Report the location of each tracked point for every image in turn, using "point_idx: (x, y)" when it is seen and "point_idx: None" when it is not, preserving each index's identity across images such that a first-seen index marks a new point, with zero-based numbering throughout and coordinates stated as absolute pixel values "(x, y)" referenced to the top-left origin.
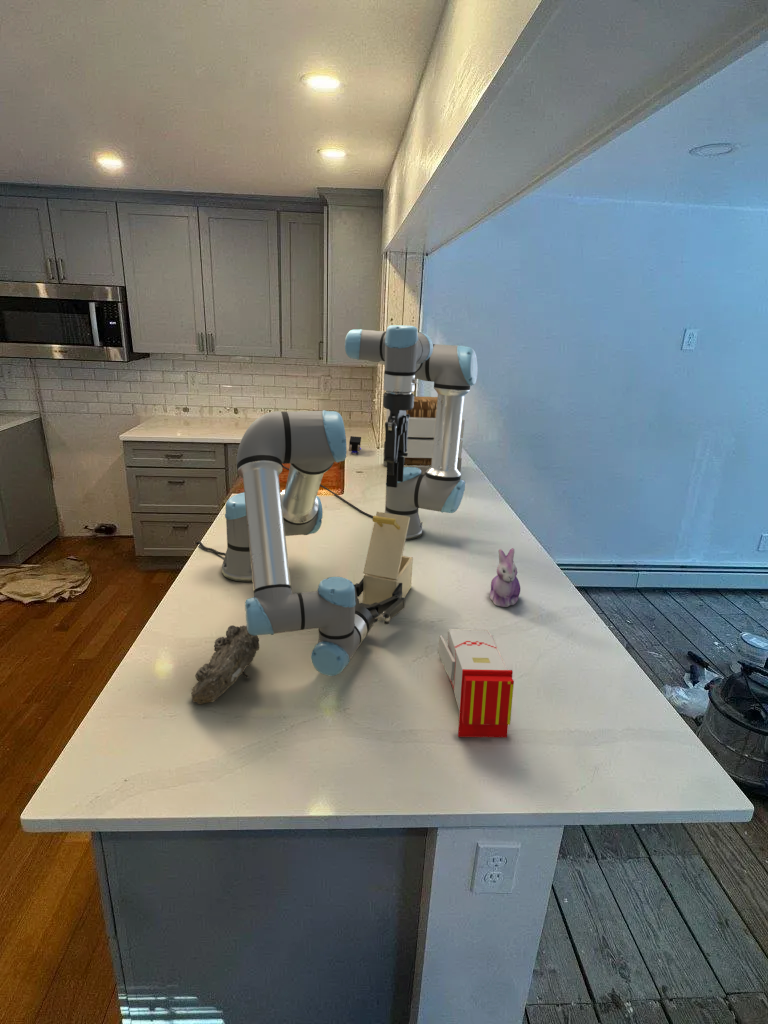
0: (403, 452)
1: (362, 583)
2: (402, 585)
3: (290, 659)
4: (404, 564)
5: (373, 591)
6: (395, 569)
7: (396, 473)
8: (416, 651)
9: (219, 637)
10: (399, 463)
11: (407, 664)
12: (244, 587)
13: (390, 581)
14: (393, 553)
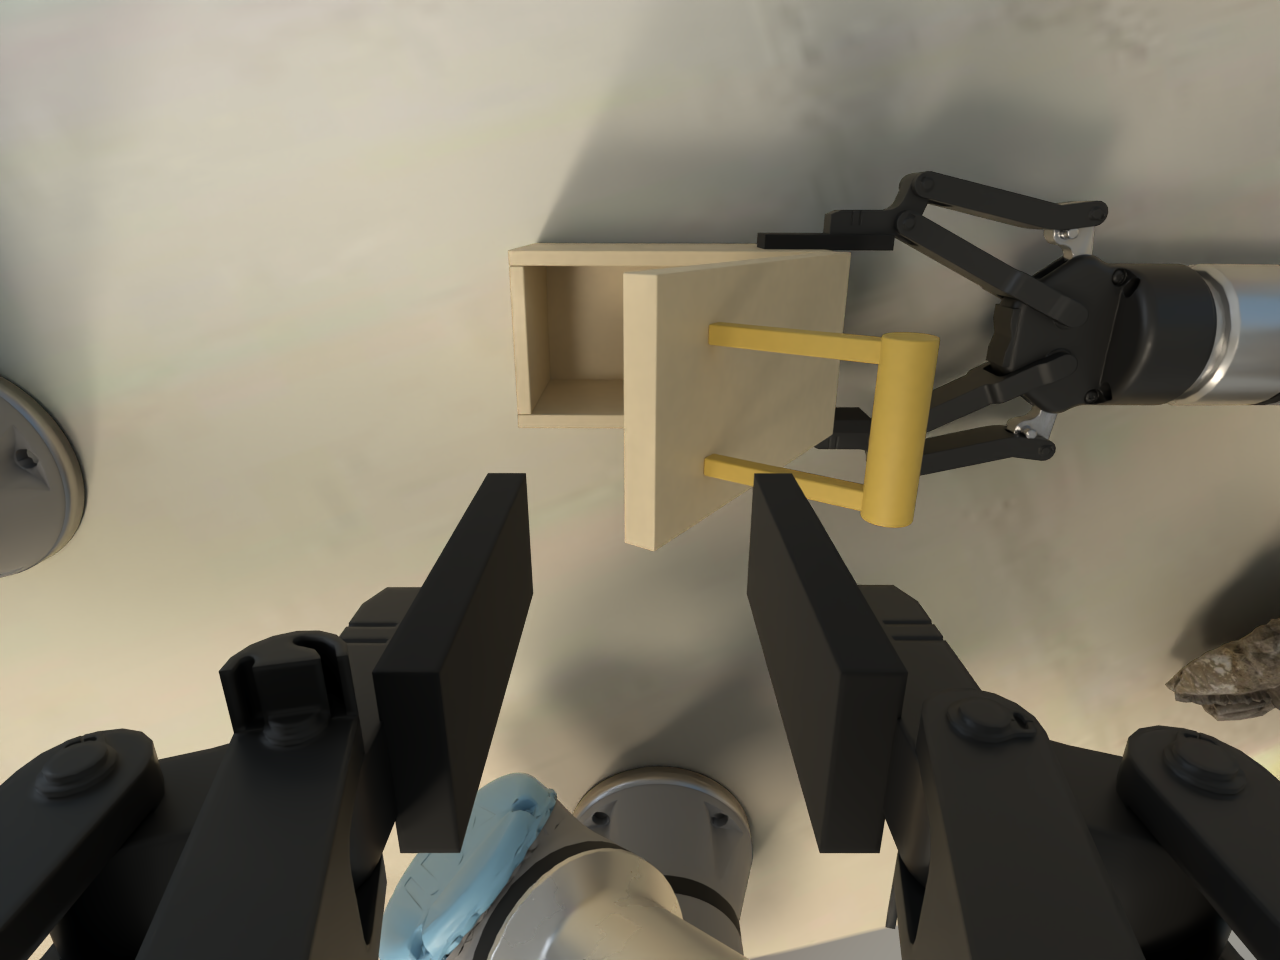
0: (351, 766)
1: None
2: (702, 247)
3: (1187, 490)
4: (531, 291)
5: None
6: (830, 271)
7: (840, 567)
8: (1069, 62)
9: (1230, 718)
10: (479, 658)
11: (1169, 73)
12: (777, 797)
13: None
14: (793, 311)
